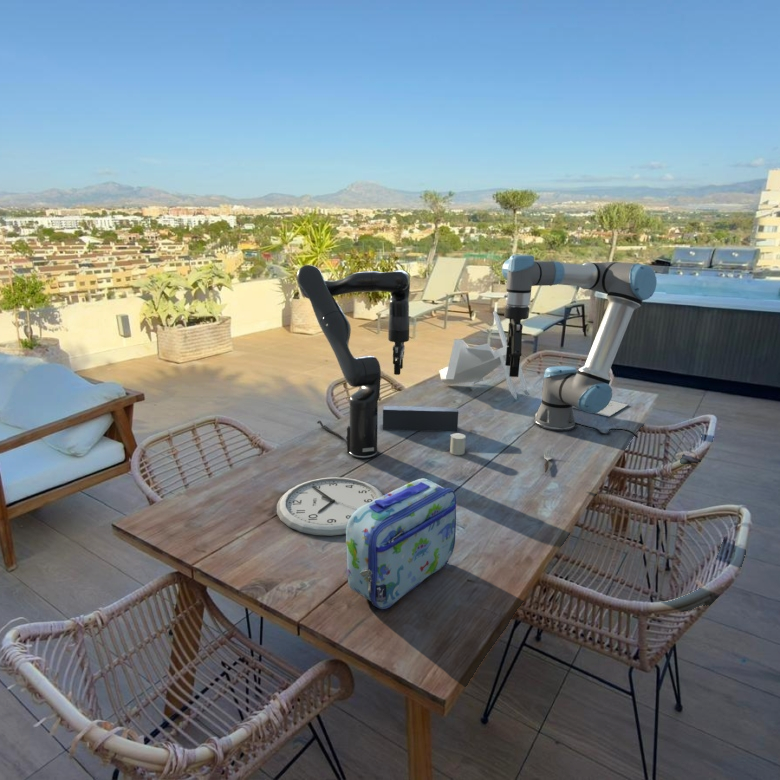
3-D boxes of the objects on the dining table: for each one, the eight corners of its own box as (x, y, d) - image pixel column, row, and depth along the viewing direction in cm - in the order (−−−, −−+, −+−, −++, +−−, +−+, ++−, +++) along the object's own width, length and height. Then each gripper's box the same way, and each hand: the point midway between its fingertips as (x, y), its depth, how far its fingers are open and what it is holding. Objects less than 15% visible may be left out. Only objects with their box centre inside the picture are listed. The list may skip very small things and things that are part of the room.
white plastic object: (461, 429, 252) (437, 405, 227) (444, 352, 274) (420, 323, 250) (535, 404, 240) (518, 377, 215) (510, 326, 262) (492, 293, 237)
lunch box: (375, 622, 100) (376, 527, 94) (339, 595, 108) (338, 505, 101) (459, 565, 118) (465, 481, 112) (424, 545, 125) (427, 465, 119)
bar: (456, 427, 200) (457, 407, 198) (457, 431, 196) (458, 411, 194) (383, 425, 201) (383, 405, 198) (382, 429, 197) (383, 409, 194)
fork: (540, 473, 163) (541, 467, 163) (544, 453, 178) (545, 448, 177) (549, 474, 162) (550, 468, 162) (552, 454, 177) (553, 449, 176)
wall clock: (392, 527, 129) (268, 531, 127) (391, 533, 130) (269, 537, 127) (383, 473, 158) (282, 475, 155) (383, 478, 158) (282, 480, 156)
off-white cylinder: (464, 449, 180) (465, 433, 178) (464, 455, 175) (465, 439, 174) (450, 448, 181) (450, 432, 179) (449, 454, 176) (450, 438, 174)
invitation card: (608, 416, 214) (573, 407, 224) (608, 416, 214) (573, 408, 224) (628, 404, 229) (594, 396, 238) (628, 405, 229) (594, 397, 238)
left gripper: (390, 324, 194) (390, 366, 199) (385, 331, 181) (385, 376, 185) (411, 324, 193) (410, 367, 198) (407, 331, 180) (406, 376, 185)
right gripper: (501, 300, 176) (496, 361, 183) (509, 311, 153) (503, 380, 159) (524, 300, 176) (518, 362, 182) (535, 312, 152) (528, 382, 158)
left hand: (398, 371), depth 192 cm, fingers open, 8 cm apart
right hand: (511, 370), depth 171 cm, fingers open, 13 cm apart
